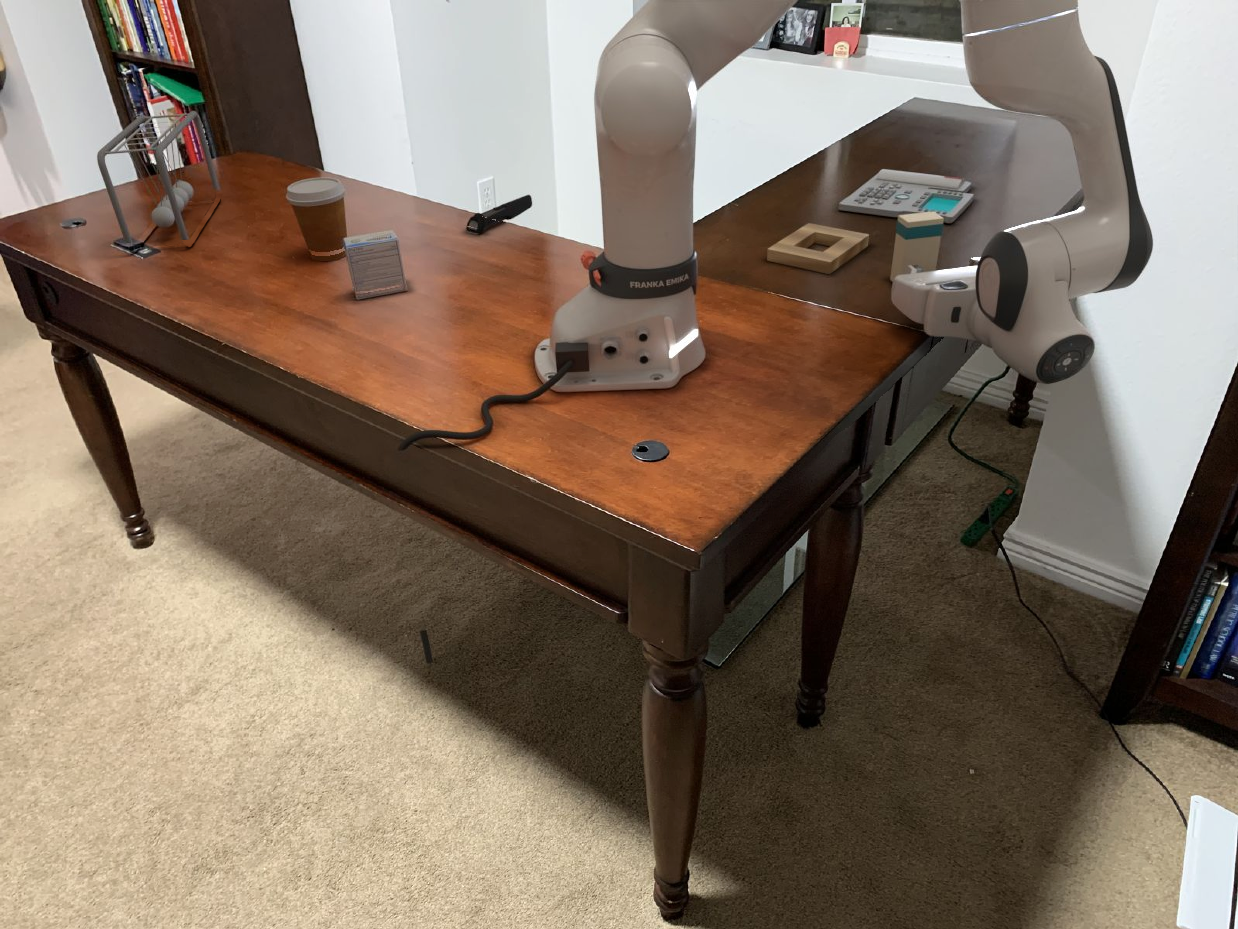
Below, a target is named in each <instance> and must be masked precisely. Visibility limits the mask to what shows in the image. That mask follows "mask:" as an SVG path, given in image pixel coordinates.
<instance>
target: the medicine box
mask: <svg viewBox="0 0 1238 929" xmlns="http://www.w3.org/2000/svg"><path fill="white" fill-rule="evenodd" d="M343 244H344V249H345V253H346V256H345V259H346V263H347V268H348V271H349V276H350V280H351V284H353V285H352V288H353V287H354V288H353V292H354V295H355V297H356V300H357V301H359V300H363V299H369V298H373V297H380V296H384V295H390V294H395V293H401V292H406V291H408V285H407V280H406V275H405V270H404V265H403V264H404V262H403V258H402V254H401V247H400V241H399V238H398V237H397V235H396V233H395V231H394V230H392V229H390V230H383V231H377V232H371V233H365V234H359V235H353V236H347V238H344V239H343ZM401 284H406V286H401V287H395V288H390V289H385V290H379V291H374V292H368V293H363V294H357V295H356V293H355V292H360V291H370V290H374V289H378V288H387V287H391V286H396V285H401ZM354 290H355V291H354Z"/></svg>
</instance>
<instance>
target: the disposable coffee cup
mask: <svg viewBox="0 0 1238 929" xmlns="http://www.w3.org/2000/svg"><path fill="white" fill-rule="evenodd" d="M286 190H287V192H286V195H285V198H286V200H287V201H288V202H289V204H290V205H291V208H292V210H293V213H294V216H295V219H296V221H297V225H298V226H299V229H300V232H301V234H302V237H303V239H304V242H305V244H306V248H307V250H308V249H309V250H311V251H315V252H330V251H334V250H339V249H342V248H343V247H344V244H343V239H344V238H347V237H348V230H347V219H346V205H345V192H346V188H345V187H344V186H343V184H342V181H341V180H340V179H338V178H336V177H329V176H328V177H327V176H325V177H311V178H305V179H301V180H298V181H295V182H293V183H291V184H290V185H288V186H287V188H286ZM309 250H308V251H309ZM309 255H310V259H311V260H314V261H317V262H331V261H336V260H340V259H342V258H344V257H346V253H345V251H343V252H341V253H339V254H335V255H330V256H315V255H312V254H310V253H309Z"/></svg>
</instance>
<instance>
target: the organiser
mask: <svg viewBox="0 0 1238 929" xmlns="http://www.w3.org/2000/svg"><path fill="white" fill-rule="evenodd" d="M869 240H870V234H868V233H863V232H858V231H853V230H847V229H842V228H836V227H831V226H825V225H820V224H815V223H810V222H808V223H806V224H805V225H803V226H801V227H800V228H798V229H797V230H795V231H794V232H792V233H790V234H789V235H787V236H785V237H784V238H782V239H780V240H779V241H777V242H776V243H774V244H772V245H771V246H770V247H768V248H767V250H766V261H767V262H771V263H776V264H780V265H785V266H789V267H794V268H799V269H804V270H809V271H813V272H817V273H821V274H826V275H831V274H832V273H833V272H835V271H836V270H837V269H839V268H840V267H841V266H843V265H844V264H845V263H847V262H849V261H850V260H851V259H853V258H854V257H855V256H857V255H858V254H859V253H861V252H862V251H863V250H865V249H866V248H867V247H869ZM814 244H816V245H821V246H827V247H828V248H826V249H825V250H824V251H819V250H815V249H810V248H809V247H811V246H812V245H814Z"/></svg>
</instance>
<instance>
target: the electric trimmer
mask: <svg viewBox="0 0 1238 929" xmlns="http://www.w3.org/2000/svg"><path fill="white" fill-rule="evenodd" d="M532 206H533V198H532V195H531V194H526V195H523V196H521V197H519V198H515V199H513V200H510V201H508V202H505V203H502V204H499V206H495V207H493V208H491V209H488V210H486V211H484V212H476V213H474V214H473V215H472V216H470V218H469V219H468V220H467V224H466V228H465V229H466V231H467V233H468V234H473V235H482V234H483V233H484V232H485V230H487V229H489V228H490V227H492V226H495V225H497V224H498V223H499V224H500V223H501V222H503V221H509V220H513V219H514V218H516V217H518V216H519V215H521V214H523V213H524V212H526V211H527V210H529V209H530V208H531V209H532ZM482 216H483V217H482ZM485 217H487V218H485ZM492 219H496V221H495V220H492ZM498 221H499V222H498ZM467 226H471V227H474V228H471V227H467ZM475 228H477V229H475Z"/></svg>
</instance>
